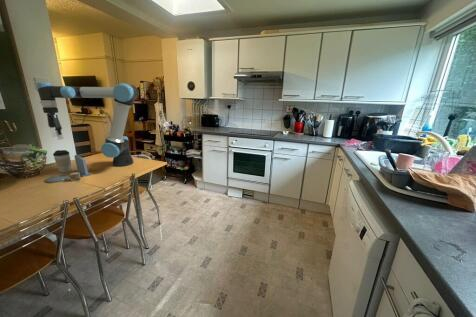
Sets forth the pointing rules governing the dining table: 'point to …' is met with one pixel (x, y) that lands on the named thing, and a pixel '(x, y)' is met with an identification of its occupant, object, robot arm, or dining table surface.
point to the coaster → (56, 178)
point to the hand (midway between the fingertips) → (57, 137)
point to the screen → (81, 166)
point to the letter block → (75, 176)
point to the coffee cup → (62, 160)
